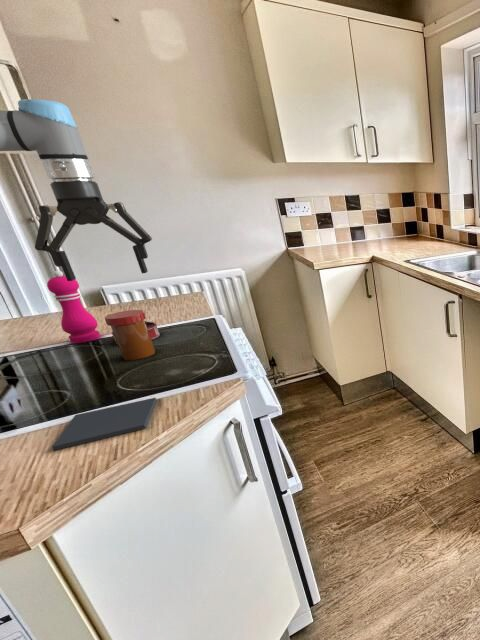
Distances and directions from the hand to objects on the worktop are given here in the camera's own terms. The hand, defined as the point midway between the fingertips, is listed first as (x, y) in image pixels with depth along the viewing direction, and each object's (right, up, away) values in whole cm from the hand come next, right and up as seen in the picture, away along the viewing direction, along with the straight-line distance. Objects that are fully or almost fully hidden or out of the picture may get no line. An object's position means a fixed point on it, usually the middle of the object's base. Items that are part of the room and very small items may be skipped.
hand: (109, 276), depth 101 cm
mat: (+23, -31, -24) cm, 45 cm away
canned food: (-11, -15, +20) cm, 27 cm away
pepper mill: (-26, -15, +20) cm, 36 cm away
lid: (0, -9, +4) cm, 10 cm away
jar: (0, -19, +8) cm, 21 cm away
